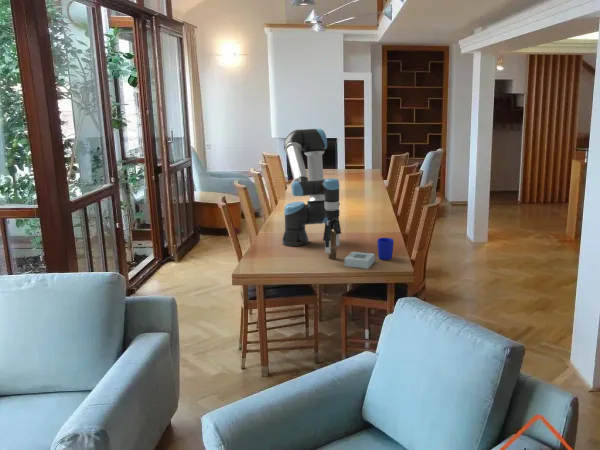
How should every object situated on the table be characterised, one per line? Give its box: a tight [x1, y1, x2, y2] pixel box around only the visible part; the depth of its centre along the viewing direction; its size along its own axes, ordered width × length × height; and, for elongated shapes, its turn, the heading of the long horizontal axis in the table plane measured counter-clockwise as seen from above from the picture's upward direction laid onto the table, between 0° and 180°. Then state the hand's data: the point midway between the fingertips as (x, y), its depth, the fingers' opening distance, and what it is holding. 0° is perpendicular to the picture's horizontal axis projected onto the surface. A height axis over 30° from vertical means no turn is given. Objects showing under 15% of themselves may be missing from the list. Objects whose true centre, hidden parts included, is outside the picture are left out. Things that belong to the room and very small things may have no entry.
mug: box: [377, 237, 395, 261], centre depth 266 cm, size 8×12×10 cm
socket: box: [344, 251, 376, 270], centre depth 257 cm, size 12×12×4 cm
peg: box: [328, 230, 337, 260], centre depth 266 cm, size 4×4×14 cm
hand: (332, 249), depth 267 cm, fingers open, 13 cm apart
